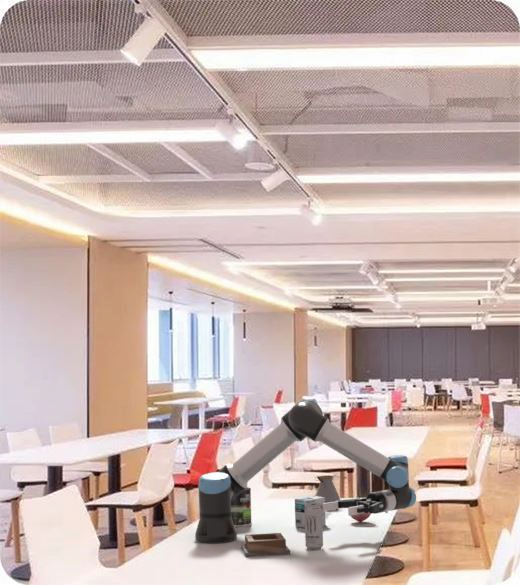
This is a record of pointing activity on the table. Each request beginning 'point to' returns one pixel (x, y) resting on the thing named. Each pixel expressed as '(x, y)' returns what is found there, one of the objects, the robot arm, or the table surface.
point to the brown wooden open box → (265, 545)
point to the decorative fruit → (361, 516)
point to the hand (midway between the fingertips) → (336, 509)
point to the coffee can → (241, 509)
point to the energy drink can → (313, 526)
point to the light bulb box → (301, 505)
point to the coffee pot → (327, 489)
